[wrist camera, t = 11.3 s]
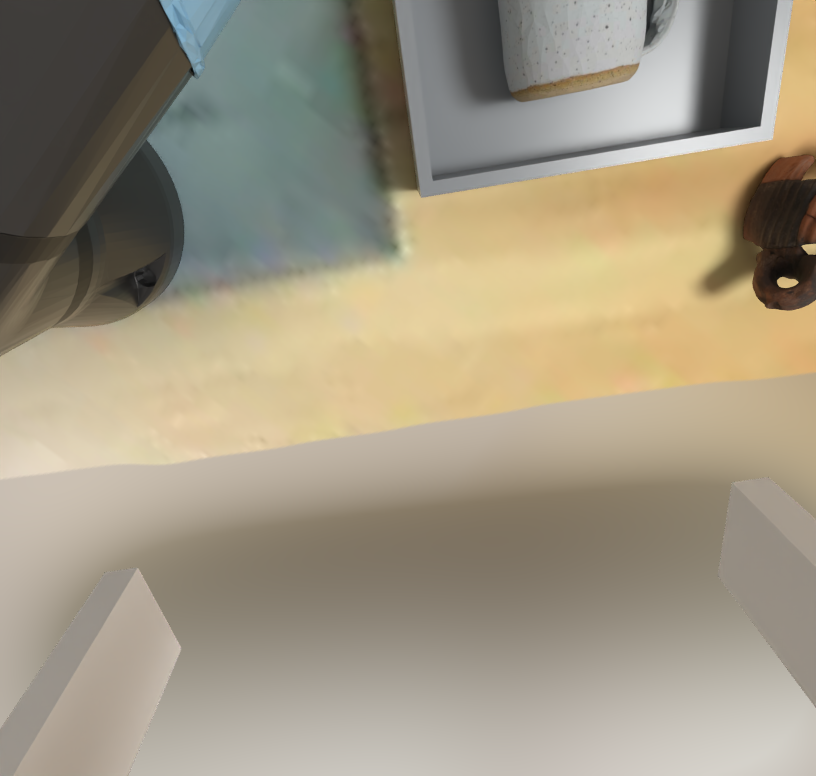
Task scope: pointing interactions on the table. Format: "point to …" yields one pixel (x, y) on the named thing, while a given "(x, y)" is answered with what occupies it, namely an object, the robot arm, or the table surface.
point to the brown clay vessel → (784, 234)
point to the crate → (583, 94)
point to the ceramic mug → (577, 43)
